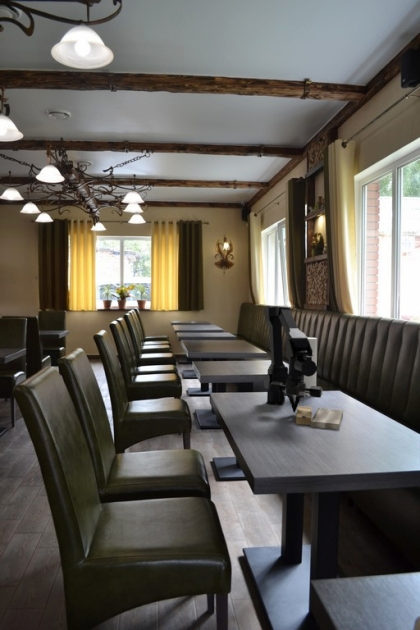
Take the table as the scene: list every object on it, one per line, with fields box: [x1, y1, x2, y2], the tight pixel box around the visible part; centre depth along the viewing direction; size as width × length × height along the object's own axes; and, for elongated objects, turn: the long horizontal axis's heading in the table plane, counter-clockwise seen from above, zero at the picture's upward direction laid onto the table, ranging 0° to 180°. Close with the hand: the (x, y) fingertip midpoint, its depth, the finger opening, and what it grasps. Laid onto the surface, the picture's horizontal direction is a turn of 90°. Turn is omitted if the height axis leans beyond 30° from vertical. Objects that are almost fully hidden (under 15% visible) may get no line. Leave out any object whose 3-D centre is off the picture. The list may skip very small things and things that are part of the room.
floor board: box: [310, 407, 344, 430], centre depth 165 cm, size 9×20×2 cm, turn 161°
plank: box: [295, 405, 312, 426], centre depth 167 cm, size 17×5×3 cm, turn 168°
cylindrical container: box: [304, 336, 318, 397], centre depth 208 cm, size 7×7×25 cm
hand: (294, 412), depth 172 cm, fingers closed
